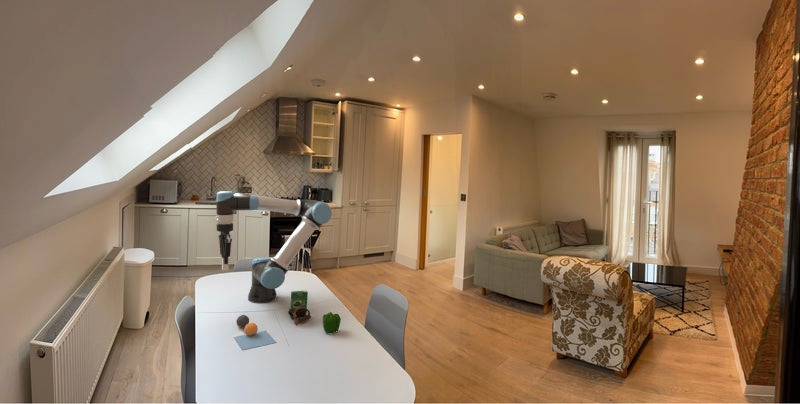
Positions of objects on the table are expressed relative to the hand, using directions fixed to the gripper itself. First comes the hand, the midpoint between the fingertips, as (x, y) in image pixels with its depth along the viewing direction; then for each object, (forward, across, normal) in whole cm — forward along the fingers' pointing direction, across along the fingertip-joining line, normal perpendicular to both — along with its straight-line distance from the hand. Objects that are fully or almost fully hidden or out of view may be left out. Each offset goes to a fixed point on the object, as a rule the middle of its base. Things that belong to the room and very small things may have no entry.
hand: (225, 269), depth 198 cm
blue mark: (+22, +38, 0) cm, 44 cm away
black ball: (+19, +22, +1) cm, 29 cm away
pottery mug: (+23, +30, +25) cm, 45 cm away
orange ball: (+19, +33, +1) cm, 38 cm away
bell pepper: (+23, +49, +32) cm, 63 cm away
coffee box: (+23, +24, +28) cm, 43 cm away
